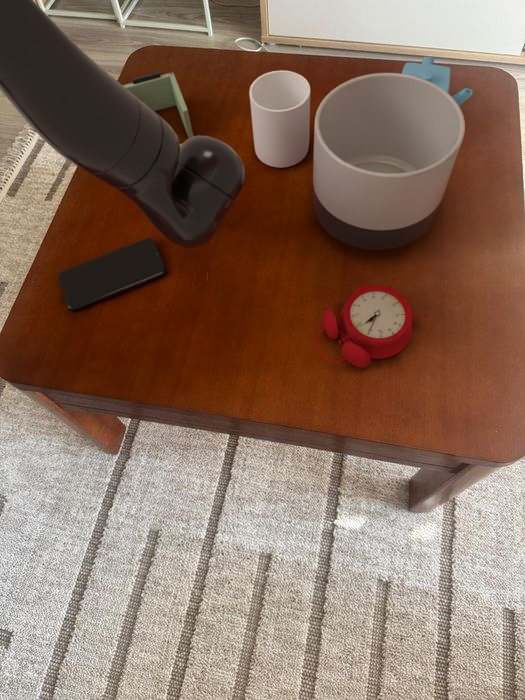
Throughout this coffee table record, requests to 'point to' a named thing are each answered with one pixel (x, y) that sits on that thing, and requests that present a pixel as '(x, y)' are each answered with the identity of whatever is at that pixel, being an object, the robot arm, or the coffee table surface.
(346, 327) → the alarm clock
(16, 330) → the coffee table surface
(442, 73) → the teapot
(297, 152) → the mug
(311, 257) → the coffee table surface
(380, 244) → the planter
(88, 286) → the smartphone
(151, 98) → the bracket
